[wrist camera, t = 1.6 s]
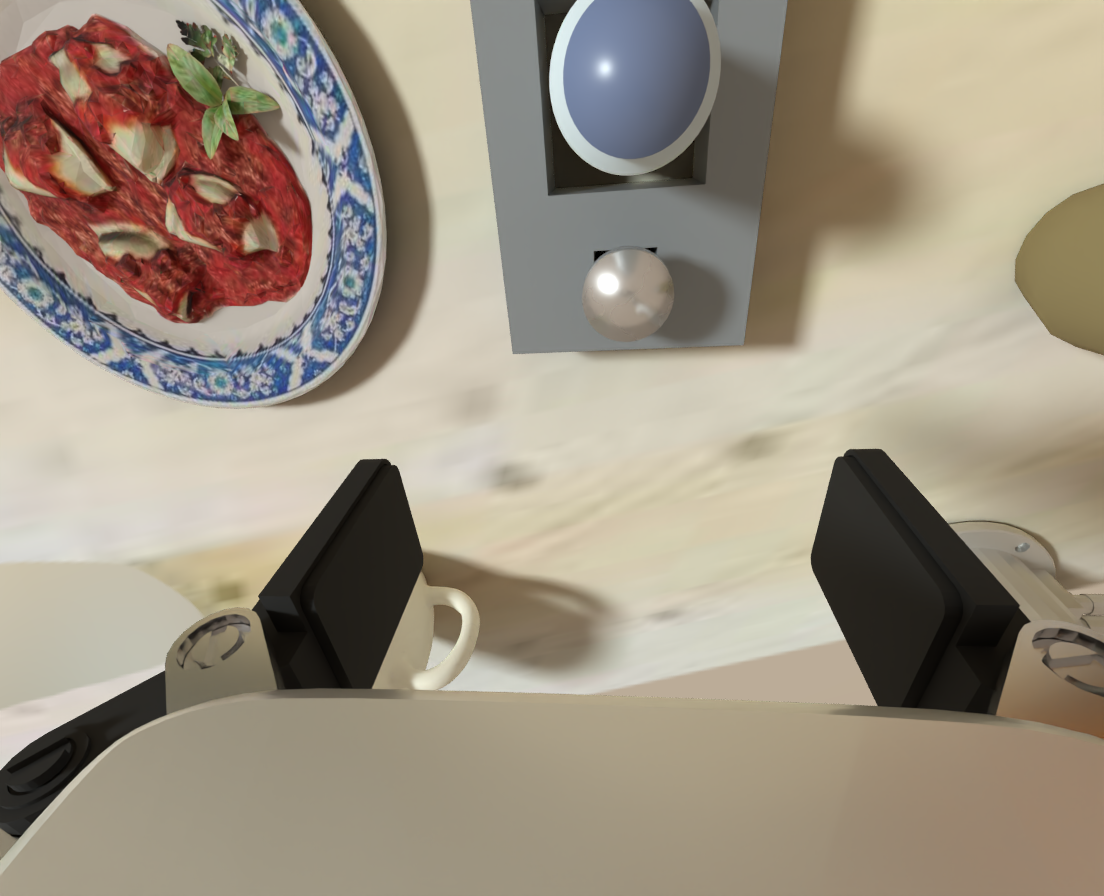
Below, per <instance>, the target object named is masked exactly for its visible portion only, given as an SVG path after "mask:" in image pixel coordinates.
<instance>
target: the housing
mask: <svg viewBox="0 0 1104 896" xmlns="http://www.w3.org/2000/svg"><path fill="white" fill-rule="evenodd" d="M576 1H577V0H470V3H471V11H472V20H473V28H474V36H475V44H476V53H477V61H478V69H479V77H480V86H481V94H482V102H483V111H484V119H485V127H486V135H487V144H488V152H489V160H490V169H491V177H492V185H493V193H494V202H495V210H496V218H497V227H498V235H499V243H500V251H501V260H502V268H503V276H504V284H505V293H506V301H507V309H508V318H509V326H510V334H511V342H512V351H513V354H526V353H552V352H578V351H603V350H629V349H655V348H681V347H707V346H733V345H744V339H745V331H746V323H747V315H748V307H749V300H750V292H751V284H752V276H753V268H754V260H755V253H756V245H757V237H758V229H759V221H760V213H761V206H762V198H763V190H764V182H765V174H766V166H767V159H768V151H769V143H770V135H771V127H772V119H773V111H774V104H775V96H776V88H777V80H778V72H779V64H780V57H781V49H782V41H783V33H784V25H785V17H786V10H787V2H788V0H704V1H705V3H706V4H707V6H708V8H709V10H710V12H711V14H712V16H713V19H714V22H715V25H716V28H717V32H718V37H719V42H720V51H721V72H720V80H719V86H718V90H717V94H716V98H715V101H714V104H713V107H712V110H711V112H710V114H709V116H708V118H707V120H706V123H705V124H704V126H703V128H702V129H701V131H700V132H699V134H698V135H697V137H696V138H695V144H694V160H693V176H692V178H685V179H672V180H659V181H646V182H633V183H620V184H607V185H593V186H580V187H567V188H555V175H554V159H553V144H552V128H551V112H550V96H549V81H548V65H547V49H546V33H545V18H544V15H550V14H559V13H567V12H569V10H570V9H571V7H572V6H573V5H574V3H575V2H576ZM621 246H638V247H642V248H651V252H653V253H654V254H656V255H657V256H658V257H659V258H660V259H661V260H662V261H663V263H664V264H665V266H666V267H667V269H668V272H669V274H670V276H671V278H672V282H673V286H674V301H673V306H672V309H671V311H670V314H669V316H668V318H667V319H666V321H665V322H664V323H663V325H662V326H661V327H660V328H659V329H658V330H657V331H655V332H654V333H653V334H651V335H649V336H647V337H646V338H643V339H640V340H637V341H632V342H620V341H614V340H611V339H609V338H606V337H604V336H603V335H601V334H600V333H598V332H597V331H596V330H595V329H594V328H593V327H592V326H591V324H590V323H589V321H588V320H587V318H586V316H585V313H584V309H583V304H582V293H583V286H584V281H585V278H586V275H587V273H588V271H589V269H590V267H591V266H592V265H593V263H594V262H595V261H596V251H604V250H612V249H614V248H617V247H621Z"/></svg>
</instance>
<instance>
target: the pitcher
mask: <svg viewBox="0 0 1104 896" xmlns="http://www.w3.org/2000/svg"><path fill="white" fill-rule="evenodd" d="M434 605H447V606H450V607H452V608H454V609H455V610H457V611H458V612H459V613H460V614H461V615H462V629H461V633H460V636H459V639H458V641H457V643H456V645H455V647H454V648H453V650H452V651H451V653H450V654H449V655H448V656H447V657H446V659H445V660H443V661H442V662H441V663H440V664H439V665H437V666H435V667H434V668H431V669H429V670H425V669H426V666H427V663H428V659H429V655H430V651H431V647H432V641H433V632H434V607H433V606H434ZM479 628H480V617H479V612H478V610H477V607H476V605H475V603H474V602H473V601H472V599H471V598H470V597H469V596H468V595H467V594H466V593H464V592H462V591H461V590H458V589H455V588H450V587H439V586H428V585H427V582H426V579H425V576H424V574H423V572H422V571H421V572H420V574H419V577H418V579H417V582H416V584H415V586H414V589H413V591H412V594H411V596H410V598H409V601H408V603H407V606H406V608H405V610H404V613H403V615H402V618H401V620H400V622H399V625H398V627H397V630H396V632H395V634H394V637H393V639H392V642H391V644H390V646H389V649H388V651H387V654H386V656H385V658H384V661H383V663H382V666H381V668H380V670H379V673H378V675H377V678H376V680H375V682H374V685H373V687H372V689H406V690H438V689H440V688H443V687H444V686H446V685H447V684H449V683H450V682H451V681H453V680H454V679H455V678H456V677H457V676H458V675H459V674H460V672H461V671H462V670H463V669H464V667H465V666H466V664H467V662H468V661H469V659H470V657H471V655H472V653H473V650H474V648H475V645H476V642H477V638H478V634H479Z"/></svg>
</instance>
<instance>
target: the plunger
mask: <svg viewBox="0 0 1104 896" xmlns="http://www.w3.org/2000/svg"><path fill="white" fill-rule="evenodd" d="M673 301H674V286H673V282H672V278H671V276H670V274H669V272H668V269H667V267H666V266H665V264H664V263H663V261H662V260H661V259H660V258H659V257H658V256H657V255H656V254H654V253H653V252H651V251H649V250H647V249H645V248H642V247H638V246H621V247H617V248H614V249H612V250H609V251H608V252H606V253H604V254H603V255H602V256H600V257H599V258H598V259H597V260H596V261H595V262H594V263H593V265H592V266H591V267H590V269H589V271H588V273H587V275H586V278H585V281H584V286H583V293H582V304H583V309H584V313H585V316H586V318H587V320H588V321H589V323H590V324H591V326H592V327H593V328H594V329H595V330H596V331H597V332H598V333H600V334H601V335H603V336H604V337H606V338H609V339H611V340H614V341H620V342H632V341H637V340H640V339H643V338H646V337H647V336H649V335H651V334H653V333H654V332H655V331H657V330H658V329H659V328H660V327H661V326H662V325H663V323H664V322H665V321H666V319H667V318H668V316H669V314H670V311H671V309H672V306H673Z"/></svg>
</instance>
